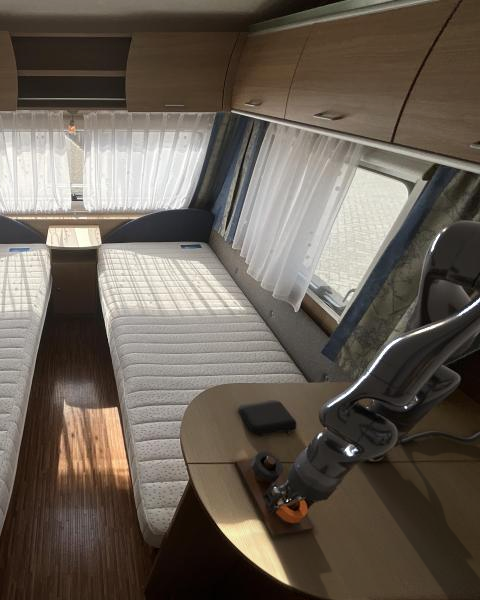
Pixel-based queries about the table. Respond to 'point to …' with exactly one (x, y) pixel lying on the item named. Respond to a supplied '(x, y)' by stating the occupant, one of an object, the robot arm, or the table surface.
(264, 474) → the black tape
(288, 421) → the carrying case
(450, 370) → the robot arm
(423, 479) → the table surface
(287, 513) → the orange tape
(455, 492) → the table surface
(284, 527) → the tape rack
